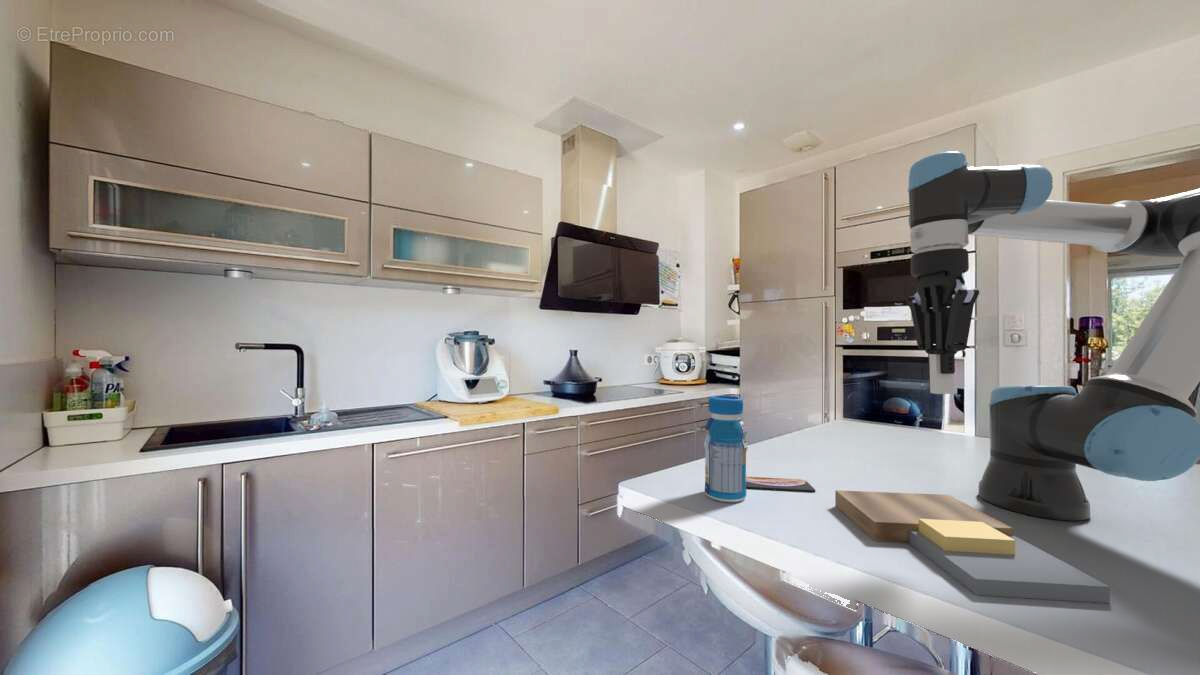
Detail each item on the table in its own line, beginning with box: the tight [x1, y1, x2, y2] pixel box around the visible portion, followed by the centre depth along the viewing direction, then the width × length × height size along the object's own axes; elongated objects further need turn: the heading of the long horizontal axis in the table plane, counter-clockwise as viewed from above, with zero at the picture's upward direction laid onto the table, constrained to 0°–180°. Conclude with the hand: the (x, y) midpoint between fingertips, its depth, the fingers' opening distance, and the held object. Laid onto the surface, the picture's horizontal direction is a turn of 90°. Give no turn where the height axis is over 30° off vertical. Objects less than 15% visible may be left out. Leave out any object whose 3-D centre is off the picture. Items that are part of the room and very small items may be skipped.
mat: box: [909, 531, 1111, 604], centre depth 59 cm, size 15×13×2 cm
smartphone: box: [746, 476, 816, 494], centre depth 93 cm, size 8×1×15 cm
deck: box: [834, 489, 1014, 544], centre depth 73 cm, size 20×14×3 cm
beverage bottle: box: [703, 395, 748, 503], centre depth 87 cm, size 8×8×20 cm
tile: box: [919, 519, 1015, 555], centre depth 63 cm, size 9×6×2 cm, turn 83°
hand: (941, 393), depth 71 cm, fingers closed
